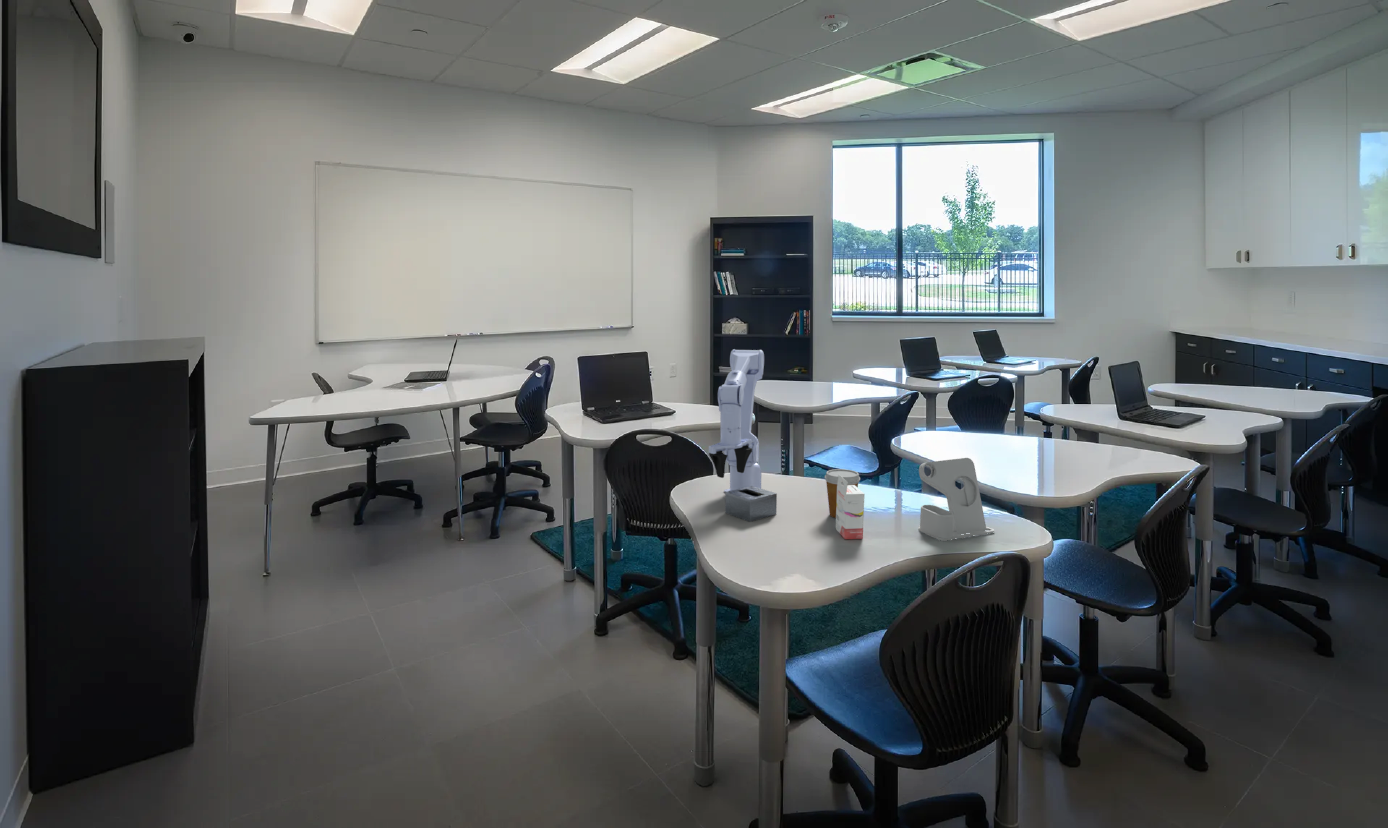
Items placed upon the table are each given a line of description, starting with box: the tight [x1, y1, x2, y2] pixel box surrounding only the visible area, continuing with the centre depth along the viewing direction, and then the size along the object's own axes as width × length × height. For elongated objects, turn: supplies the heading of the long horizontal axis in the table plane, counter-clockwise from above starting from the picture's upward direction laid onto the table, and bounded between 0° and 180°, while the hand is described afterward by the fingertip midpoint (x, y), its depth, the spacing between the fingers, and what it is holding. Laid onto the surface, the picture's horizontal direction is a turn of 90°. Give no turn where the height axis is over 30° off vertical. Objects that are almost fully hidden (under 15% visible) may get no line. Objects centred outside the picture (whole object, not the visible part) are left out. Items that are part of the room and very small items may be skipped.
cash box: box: [724, 486, 778, 523], centre depth 197 cm, size 10×10×6 cm
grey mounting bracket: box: [917, 457, 995, 542], centre depth 181 cm, size 17×10×18 cm, turn 111°
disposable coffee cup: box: [824, 468, 861, 519], centre depth 194 cm, size 10×10×12 cm
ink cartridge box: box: [835, 475, 865, 540], centre depth 180 cm, size 9×5×15 cm, turn 5°
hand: (730, 474), depth 201 cm, fingers open, 7 cm apart
